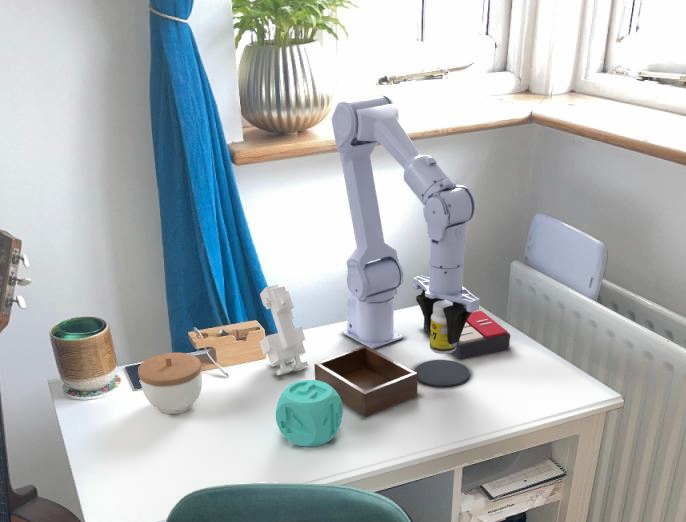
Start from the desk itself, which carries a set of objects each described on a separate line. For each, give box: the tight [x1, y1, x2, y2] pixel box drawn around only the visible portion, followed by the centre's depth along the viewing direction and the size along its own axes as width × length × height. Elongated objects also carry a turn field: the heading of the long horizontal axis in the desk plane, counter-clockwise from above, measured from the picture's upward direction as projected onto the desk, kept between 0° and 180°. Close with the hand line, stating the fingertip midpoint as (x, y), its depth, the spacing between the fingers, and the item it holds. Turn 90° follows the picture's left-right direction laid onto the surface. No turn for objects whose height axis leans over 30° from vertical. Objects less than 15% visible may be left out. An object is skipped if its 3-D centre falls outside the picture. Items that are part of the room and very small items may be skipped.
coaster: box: [413, 359, 471, 388], centre depth 146 cm, size 10×10×1 cm
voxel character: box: [259, 283, 309, 376], centre depth 147 cm, size 7×12×15 cm
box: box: [314, 345, 419, 418], centre depth 141 cm, size 15×12×4 cm
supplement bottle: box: [429, 300, 457, 355], centre depth 141 cm, size 5×5×8 cm
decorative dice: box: [275, 379, 344, 448], centre depth 128 cm, size 8×8×8 cm
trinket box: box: [137, 352, 203, 415], centre depth 138 cm, size 11×11×9 cm
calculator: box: [423, 309, 511, 360], centre depth 157 cm, size 11×4×15 cm
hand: (443, 337), depth 142 cm, fingers closed on supplement bottle, 5 cm apart
